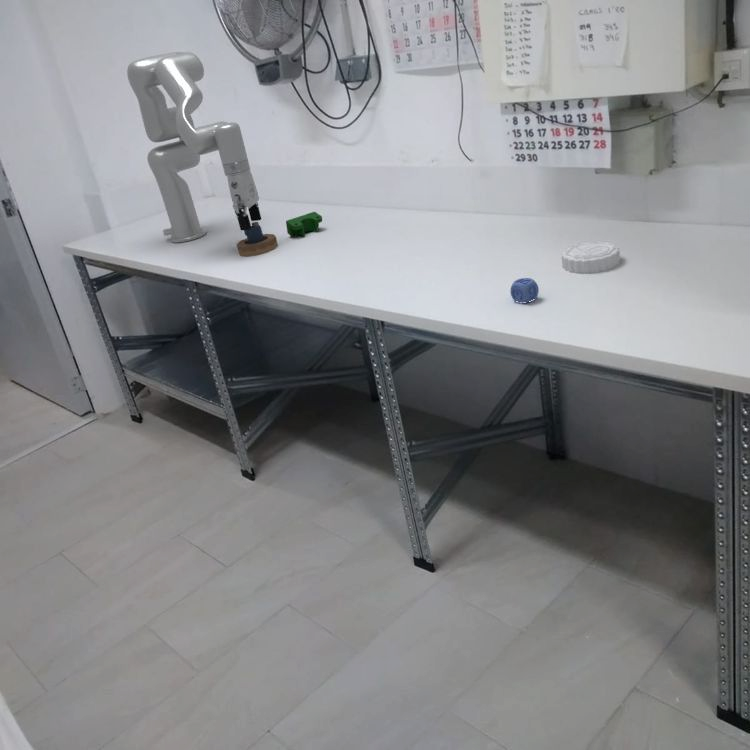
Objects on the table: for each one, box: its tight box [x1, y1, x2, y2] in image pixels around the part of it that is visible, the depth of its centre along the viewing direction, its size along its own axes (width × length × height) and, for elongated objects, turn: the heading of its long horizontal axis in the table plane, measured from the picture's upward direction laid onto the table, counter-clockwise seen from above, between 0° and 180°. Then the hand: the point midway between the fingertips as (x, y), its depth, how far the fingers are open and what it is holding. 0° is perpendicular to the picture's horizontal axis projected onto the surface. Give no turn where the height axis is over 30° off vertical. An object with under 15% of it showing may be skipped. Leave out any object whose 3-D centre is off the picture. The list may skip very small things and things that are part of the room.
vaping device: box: [243, 214, 264, 244], centre depth 222 cm, size 3×5×12 cm, turn 108°
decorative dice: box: [510, 277, 540, 302], centre depth 147 cm, size 4×4×4 cm
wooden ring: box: [236, 233, 279, 257], centre depth 224 cm, size 12×12×3 cm
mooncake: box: [561, 241, 621, 274], centre depth 158 cm, size 12×12×4 cm
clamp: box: [285, 211, 323, 238], centre depth 230 cm, size 11×6×8 cm, turn 117°
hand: (251, 224), depth 221 cm, fingers open, 9 cm apart
